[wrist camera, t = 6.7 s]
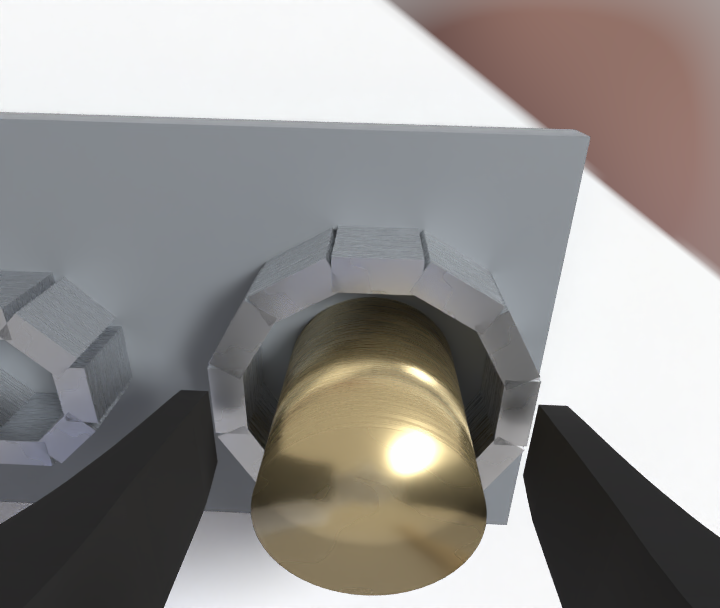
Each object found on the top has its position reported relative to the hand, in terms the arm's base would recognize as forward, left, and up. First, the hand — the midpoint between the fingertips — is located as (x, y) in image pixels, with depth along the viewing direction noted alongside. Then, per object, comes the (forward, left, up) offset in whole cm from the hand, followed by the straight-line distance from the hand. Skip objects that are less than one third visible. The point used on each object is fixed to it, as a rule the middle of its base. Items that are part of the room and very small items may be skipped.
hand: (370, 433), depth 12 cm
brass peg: (0, 0, -3) cm, 3 cm away
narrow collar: (-9, 0, -4) cm, 10 cm away
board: (-4, 0, -4) cm, 6 cm away
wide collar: (0, 0, -4) cm, 4 cm away
